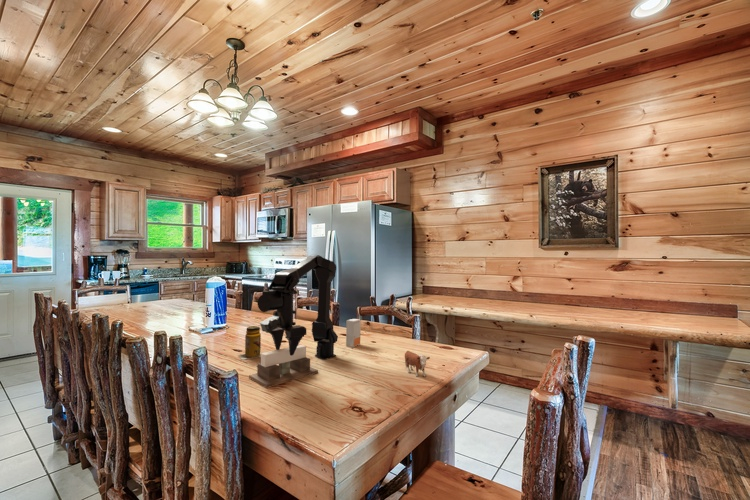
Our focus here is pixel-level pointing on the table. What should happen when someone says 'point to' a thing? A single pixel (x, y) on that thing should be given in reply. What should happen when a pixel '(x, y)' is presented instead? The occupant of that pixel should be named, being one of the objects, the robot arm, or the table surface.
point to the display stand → (282, 372)
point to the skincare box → (353, 332)
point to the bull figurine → (415, 362)
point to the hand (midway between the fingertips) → (284, 352)
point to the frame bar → (282, 356)
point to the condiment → (252, 343)
